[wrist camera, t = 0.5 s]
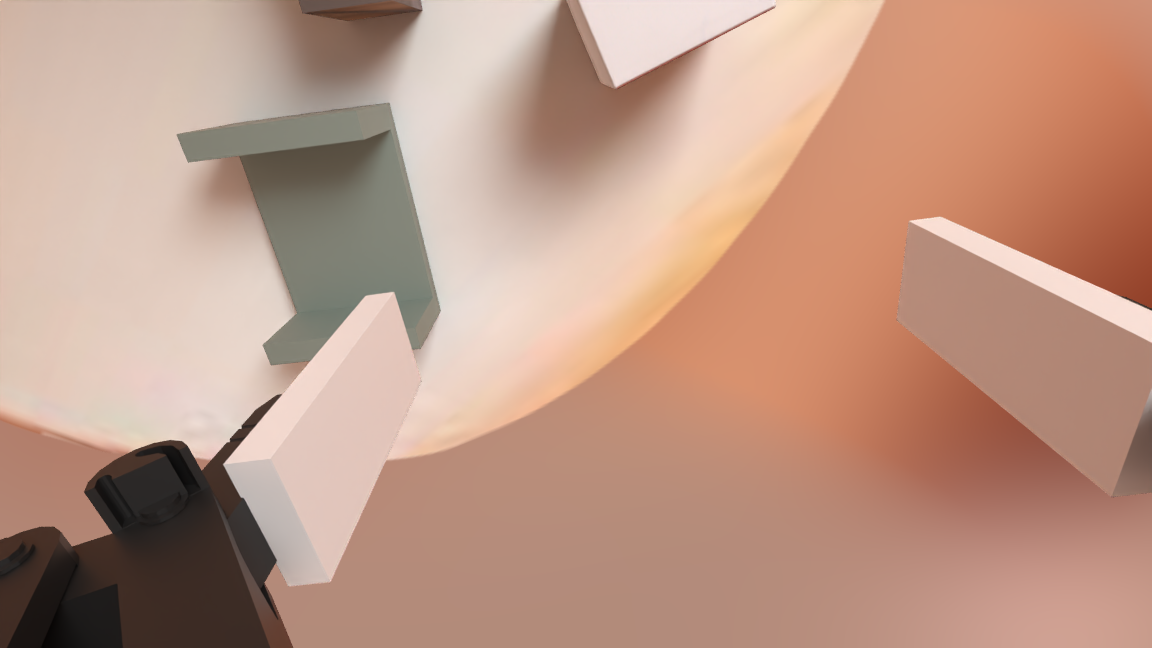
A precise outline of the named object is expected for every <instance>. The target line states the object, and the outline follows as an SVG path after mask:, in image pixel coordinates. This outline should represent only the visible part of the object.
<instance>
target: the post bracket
mask: <svg viewBox="0 0 1152 648" xmlns="http://www.w3.org/2000/svg"><path fill="white" fill-rule="evenodd" d="M177 137H178V139H179V142H180V144H181V147H182V149H183V151H184V154H185V156H186V159H187V161H188V162H196V161H203V160H211V159H219V158H227V157H234V156H240V159H241V162H242V164H243V167H244V170H245V172H246V175H247V178H248V181H249V183H250V186H251V189H252V191H253V194H254V197H255V200H256V202H257V205H258V208H259V210H260V213H261V216H262V219H263V221H264V224H265V227H266V229H267V232H268V235H269V238H270V240H271V243H272V246H273V248H274V251H275V254H276V257H277V259H278V262H279V265H280V267H281V270H282V273H283V276H284V278H285V281H286V284H287V286H288V289H289V292H290V294H291V297H292V300H293V303H294V305H295V308H296V311H297V314H296V315H295V316H294V317H293V318H292V319H290V320H289V321H288V322H287V323H286V324H285V325H284V326H283V327H282V328H281V329H280V330H279V331H277V332H276V333H275V334H274V335H273V336H272V337H271V338H270V339H269V340H268V341H267V342H266V343H264V344H263V347H264V349H265V352H266V354H267V357H268V359H269V362H270V364H271V365H278V364H287V363H296V362H305V361H311V360H312V359H313V357H314V356H315V355H316V354H317V353H318V352H319V350H320V349H321V348H322V347H323V346H324V344H325V343H326V342H327V341H328V340H329V339H330V337H331V336H332V335H333V334H334V333H335V331H336V330H337V329H338V328H339V327H340V326H341V324H342V323H343V322H344V321H345V320H346V318H347V317H348V316H349V315H350V314H351V312H352V311H353V310H354V309H355V308H356V307H357V305H358V304H359V303H360V302H361V301H362V299H363V298H364V297H365V296H367V295H374V294H382V293H389V292H394V293H395V296H396V299H397V303H398V306H399V309H400V312H401V315H402V319H403V322H404V325H405V328H406V332H407V335H408V338H409V341H410V344H411V348H412V349H421V347H422V345H423V343H424V341H425V340H426V338H427V336H428V334H429V332H430V330H431V328H432V326H433V324H434V322H435V320H436V319H437V317H438V315H439V313H440V311H441V310H440V306H439V302H438V298H437V294H436V290H435V286H434V282H433V278H432V274H431V270H430V266H429V262H428V258H427V254H426V250H425V246H424V242H423V238H422V233H421V229H420V225H419V221H418V217H417V213H416V209H415V205H414V201H413V197H412V193H411V189H410V185H409V181H408V177H407V173H406V169H405V165H404V161H403V157H402V153H401V148H400V144H399V140H398V136H397V132H396V128H395V124H394V120H393V116H392V112H391V108H390V104H389V103H384V104H376V105H369V106H361V107H354V108H346V109H339V110H331V111H323V112H316V113H308V114H301V115H293V116H286V117H278V118H271V119H263V120H256V121H248V122H241V123H234V124H229V125H224V126H218V127H213V128H208V129H202V130H197V131H192V132H186V133H181V134H177Z"/></svg>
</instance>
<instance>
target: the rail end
mask: <svg viewBox="0 0 1152 648" xmlns="http://www.w3.org/2000/svg"><path fill="white" fill-rule="evenodd" d="M299 3H300V6H301V9H302V13H305V14H311V15H317V16H322V17H328V18H334V19H340V20H345V21H350V20H357V19H364V18H371V17H378V16H385V15H393V14H400V13H407V12H414V11H421V10H422V5H421V0H299Z"/></svg>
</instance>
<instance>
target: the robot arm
mask: <svg viewBox="0 0 1152 648" xmlns="http://www.w3.org/2000/svg"><path fill="white" fill-rule="evenodd" d="M897 321H898V322H899V323H901V324H902V325H903V326H904V327H906V328H907V329H908V330H909V331H910V332H912V333H913V334H914V335H915V336H916V337H918V338H919V339H920V340H921V341H922V342H924V343H925V344H926V345H927V346H928V347H930V348H931V349H932V350H933V351H934V352H936V353H937V354H938V355H939V356H941V357H942V358H943V359H944V360H946V361H947V362H948V363H949V364H950V365H952V366H953V367H954V368H955V369H956V370H958V371H959V372H960V373H961V374H962V375H964V376H965V377H966V378H967V379H968V380H970V381H971V382H972V383H973V384H975V385H976V386H977V387H978V388H979V389H981V390H982V391H983V392H984V393H985V394H987V395H988V396H989V397H990V398H992V399H993V400H994V401H995V402H997V403H998V404H999V405H1000V406H1001V407H1002V408H1004V409H1005V410H1006V411H1007V412H1009V413H1010V414H1011V415H1012V416H1013V417H1015V418H1016V419H1017V420H1019V421H1020V422H1021V423H1022V424H1023V425H1025V426H1026V427H1027V428H1028V429H1029V430H1030V431H1032V432H1033V433H1034V434H1035V435H1036V436H1038V437H1039V438H1040V439H1041V440H1043V441H1044V442H1045V443H1046V444H1047V445H1049V446H1050V447H1051V448H1052V449H1054V450H1055V451H1056V452H1057V453H1058V454H1060V455H1061V456H1062V457H1063V458H1064V459H1066V460H1067V461H1068V462H1069V463H1071V464H1072V465H1073V466H1074V467H1075V468H1077V469H1078V470H1079V471H1080V472H1082V473H1083V474H1084V475H1085V476H1086V477H1088V478H1089V479H1090V480H1091V481H1092V482H1094V483H1095V484H1096V485H1097V486H1098V487H1100V488H1101V489H1102V490H1103V491H1104V492H1106V493H1107V494H1108V495H1109V496H1111V497H1118V496H1128V495H1136V494H1146V493H1152V308H1149V307H1147V306H1145V305H1142V304H1140V303H1138V302H1136V301H1133V300H1131V299H1129V298H1127V297H1123V296H1119V295H1115V294H1113V293H1111V292H1108V291H1106V290H1104V289H1102V288H1099V287H1097V286H1095V285H1093V284H1090V283H1088V282H1086V281H1084V280H1081V279H1079V278H1077V277H1075V276H1072V275H1070V274H1068V273H1066V272H1064V271H1061V270H1059V269H1057V268H1054V267H1052V266H1050V265H1048V264H1046V263H1043V262H1041V261H1039V260H1036V259H1034V258H1032V257H1030V256H1028V255H1025V254H1023V253H1021V252H1018V251H1016V250H1014V249H1012V248H1009V247H1007V246H1005V245H1003V244H1000V243H998V242H996V241H994V240H991V239H989V238H987V237H985V236H983V235H980V234H978V233H976V232H974V231H971V230H969V229H967V228H965V227H962V226H960V225H958V224H956V223H953V222H951V221H949V220H947V219H944V218H942V217H935V218H928V219H921V220H913V221H909V223H908V233H907V240H906V248H905V256H904V264H903V273H902V281H901V289H900V297H899V305H898V313H897ZM421 382H422V380H421V377H420V374H419V370H418V367H417V364H416V361H415V357H414V354H413V351H412V348H411V344H410V341H409V338H408V335H407V332H406V328H405V325H404V322H403V319H402V315H401V312H400V309H399V306H398V303H397V299H396V296H395V293H394V292H389V293H382V294H374V295H367V296H365V297H364V298H363V299H362V301H361V302H360V303H359V304H358V305H357V307H356V308H355V309H354V310H353V311H352V312H351V314H350V315H349V316H348V317H347V318H346V320H345V321H344V322H343V323H342V324H341V326H340V327H339V328H338V329H337V330H336V331H335V333H334V334H333V335H332V336H331V337H330V339H329V340H328V341H327V342H326V343H325V344H324V346H323V347H322V348H321V349H320V350H319V352H318V353H317V354H316V355H315V356H314V357H313V359H312V360H311V361H310V362H309V363H308V365H307V366H306V367H305V368H304V369H303V371H302V372H301V373H300V374H299V375H298V376H297V378H296V379H295V380H294V381H293V382H292V384H291V385H290V386H289V387H288V388H287V389H286V391H285V392H284V393H283V394H280V395H276V396H275V397H273V398H272V399H271V400H269V401H268V402H266V403H265V404H263V405H262V406H261V407H259V408H258V409H256V410H255V411H254V412H253V414H252V415H251V416H250V417H249V418H248V419H247V420H246V421H245V423H244V424H243V425H242V429H238V431H237V432H236V433H235V434H234V435H233V436H232V437H231V438H230V442H228V443H226V444H225V445H224V446H223V448H222V449H221V450H220V451H219V452H218V453H217V454H216V455H215V457H214V458H213V459H212V460H211V461H210V462H209V463H208V465H207V466H206V467H205V468H204V469H203V470H202V471H201V469H200V467H199V466H198V464H197V462H196V460H195V458H194V456H193V455H192V453H191V451H190V449H189V448H188V446H187V445H186V444H185V443H183V442H182V441H174V440H168V441H163V442H158V443H153V444H150V445H147V446H144V447H142V448H139V449H136V450H134V451H132V452H130V453H128V454H126V455H124V456H122V457H120V458H118V459H116V460H114V461H113V462H112V463H110V464H109V465H107V466H106V467H104V468H103V469H101V470H100V471H99V472H98V473H97V474H96V475H95V476H94V477H93V478H92V479H91V480H90V481H89V482H88V484H87V486H86V489H85V491H84V493H85V494H86V496H87V497H88V498H89V500H90V501H91V503H92V504H93V506H94V507H95V509H96V510H97V511H98V513H99V514H100V516H101V517H102V519H103V520H104V522H105V523H106V524H107V526H108V527H109V529H110V530H111V531H112V533H113V534H110V535H107V536H104V537H101V538H97V539H94V540H91V541H88V542H85V543H82V544H79V545H76V546H73V547H72V546H71V545H70V544H69V542H68V541H67V540H66V538H65V537H64V536H63V534H62V533H61V532H60V531H59V530H58V529H56V528H55V527H38V528H34V529H31V530H27V531H23V532H21V533H18V534H16V535H14V536H12V537H9V538H4V539H2V540H0V648H293V646H292V644H291V641H290V639H289V636H288V634H287V632H286V629H285V627H284V624H283V622H282V619H281V617H280V615H279V612H278V610H277V608H276V605H275V603H274V600H273V598H272V596H271V594H270V592H269V590H268V589H267V587H266V585H265V583H264V582H265V581H266V579H267V577H268V575H269V574H270V572H271V570H272V568H273V567H274V565H275V563H276V564H277V566H278V568H279V570H280V572H281V573H282V575H283V577H284V579H285V581H286V583H287V585H288V586H298V585H307V584H316V583H326V582H331V580H332V577H333V575H334V573H335V571H336V568H337V566H338V564H339V562H340V560H341V558H342V555H343V553H344V551H345V549H346V547H347V545H348V542H349V540H350V538H351V536H352V534H353V531H354V529H355V527H356V525H357V523H358V520H359V518H360V516H361V514H362V512H363V509H364V507H365V505H366V503H367V501H368V498H369V496H370V494H371V492H372V490H373V487H374V485H375V483H376V481H377V479H378V476H379V474H380V472H381V470H382V467H383V465H384V463H385V461H386V459H387V457H388V454H389V452H390V450H391V448H392V446H393V443H394V441H395V439H396V437H397V435H398V432H399V430H400V428H401V426H402V424H403V421H404V419H405V417H406V415H407V413H408V410H409V408H410V406H411V404H412V402H413V399H414V397H415V395H416V393H417V391H418V388H419V386H420V384H421Z"/></svg>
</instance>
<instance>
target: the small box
mask: <svg viewBox="0 0 1152 648" xmlns="http://www.w3.org/2000/svg"><path fill="white" fill-rule="evenodd" d="M566 2H567V4H568V6H569V9H570V11H571V14H572V16H573V19H574V21H575V24H576V26H577V28H578V31H579V33H580V36H581V38H582V40H583V43H584V45H585V47H586V50H587V52H588V54H589V57H590V59H591V61H592V64H593V66H594V68H595V71H596V73H597V75H598V78H599V80H600V82H601V83H602V84H604V85H607V86H609V87H611V88H614V89H618V88H620V87H622V86H624V85H626V84H628V83H630V82H632V81H634V80H636V79H638V78H639V77H641V76H643V75H645V74H647V73H649V72H651V71H653V70H655V69H657V68H659V67H661V66H663V65H665V64H667V63H669V62H671V61H673V60H675V59H677V58H679V57H681V56H683V55H685V54H687V53H689V52H691V51H692V50H694V49H696V48H698V47H700V46H702V45H704V44H706V43H708V42H710V41H712V40H714V39H716V38H717V37H719V36H721V35H723V34H725V33H727V32H729V31H731V30H733V29H735V28H737V27H739V26H740V25H742V24H744V23H746V22H748V21H750V20H752V19H754V18H756V17H758V16H760V15H762V14H764V13H766V12H767V11H769V10H772V9H773V8H775V7H776V2H775V0H566Z"/></svg>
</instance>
